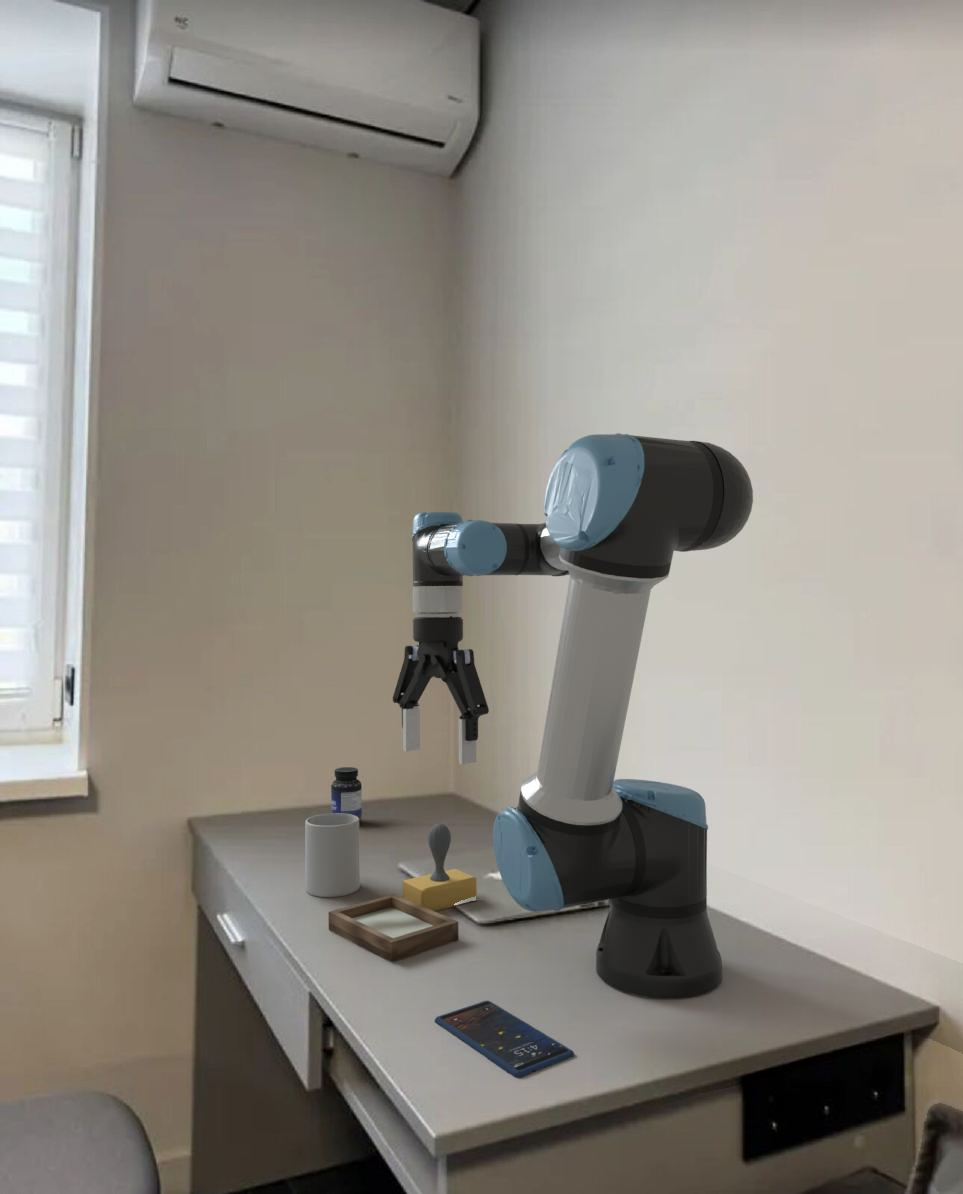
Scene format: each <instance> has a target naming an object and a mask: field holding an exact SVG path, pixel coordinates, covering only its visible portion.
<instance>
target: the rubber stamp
mask: <svg viewBox="0 0 963 1194" xmlns="http://www.w3.org/2000/svg"><path fill="white" fill-rule="evenodd" d="M451 841H452V833H451V831H450V828H449V827H447V826H446V825H445V824H443V823H435V824H434V825H433V826H432V827H430V829H429V830H428V833H427V843H428V846H429V849H430V852H431V855H432V857H433V860H434V866H435V870H434V872H433V873H430V874H425V875H422V876H417V877H412V878H408V879H404V880H403V881H402V898H404V899H406V900H408V901H411V902H413V903H415V904H418V905H420V906H423V907H425V908H427V909H430V910H432V911H434V912H438V911H441V910H444V909H450V908H453V907H455V906H454V904H455V903H457V902H459V901H461V900H465V899H468V898H471V897H475V896H476V895H477V894H478V892H477V890H478V889H477V888H478V887H477V877H476V876H472V875H471V874H468V873H465V872H463V871H461V870H460V869H457V868H453V869H448V870H445V869H444V867H445V861H446V857H447V855H448V852H449V849H450V845H451Z"/></svg>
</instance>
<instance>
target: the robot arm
mask: <svg viewBox="0 0 963 1194" xmlns="http://www.w3.org/2000/svg"><path fill="white" fill-rule="evenodd" d="M547 481H548V482H547V484H546V489H545V495H544V503H543V504H544V505H543V510H544V512H543V513H544V516H546V517H547V519H546V520H545V522H543V523H510V522H509V523H506V522H491V521H488V520H481V519H477V520H474V519H467V520H465V521H463V518H462V516H461V514H459V513H458V512H453V511H452V512H451V511H429V512H418V513H417V514H416V515H414V518H413V522H412V534H411V541H412V612H413V613H414V614H416V616H415V617H413V620H412V638H413V640H414V641H415V642H417V643H418V644H416V645H415V644H414V645H405V646H404V654H403V655H404V656H403V657H404V658H403V661H402V662H403V663H402V664H401V665H402V666H401V669H400V671H399V672H400V673H399V674H398V675H399V676H398V678H397V681H396V684H395V685H396V686H395V688H394V691H393V695H392V702H393V703H394V704H398V705H399V707H400V708H401V726H402V751H403V752H411V751H418V750H421V739H420V738H421V735H420V733H421V726H420V725H421V716H420V715H421V713H420V712H421V708H420V704H419V701H420V698H421V697H422V696H423V693H424V691H425V690H426V688H427V686H428V684H429V683H430V681H431V679H432V678H436V679H441V681H442V682H444V683H445V684H446V686H447V688H448V690H449V691H450V694H451V696H452V698H453V700H454V703H455V704H456V705H457V708H458V710H459V712H460V716H459V718H458V764H460V765H465V764H467V765H468V764H472V763H476V762H477V740H478V739H479V718H480V717H481V716H484V715H488V714H489V712H490V710H489V706H488V703H487V702H488V701H487V699H486V696H485V693H484V690H483V687H482V684H481V683H482V682H481V680H480V677H479V675H478V672H477V668H476V665H475V654H474V650H473V649H472V648H467V649H460V648H459V642H462V640H463V639H464V619H463V618H462V617H461V616H459V614H462V612H464V610H463V608H464V607H463V606H464V605H463V602H464V601H463V597H464V596H463V586H464V585H463V584H464V582H463V581H464V580H463V579H464V577H463V576H465V577H466V576H467V577H473V576H477V577H480V576H481V577H482V576H551V577H564V576H569V581H568V585H567V586H568V587H567V593H566V600H565V605H564V610H563V618H562V623H561V629H560V635H559V641H558V645H557V646H558V647H557V651H556V652H557V653H556V659H555V664H554V668H553V669H554V670H553V676H552V682H551V688H550V695H549V701H548V706H547V712H546V719H545V724H544V728H543V734H542V735H543V737H542V741H541V742H542V743H541V746H540V747H541V749H540V755H539V759H538V767H537V771H536V772H534V773H533V774H531V775H529V776H527V778H525V779H524V781H523V782H522V783H521V785H520V786H521V787H520V791H519V798H518V799H519V800H518V803H517V807H512V806H508V807H507V808H506V809H503V810H501V812H499V813H498V814H497V815H496V817H495V820H494V823H493V830H492V841H493V842H492V843H493V844H492V845H493V851H494V852H493V853H494V857H495V862H496V865H497V869H498V871H499V874H500V875H499V876H500V877H501V879H502V882H503V884H504V886H505V888H506V891H508V892H507V893H508V895H510V897H511V898H512V899H513V901H515V903H516V904H517V905H518V906H519V907H521V908H522V909H523V910H526V911H529V912H534V913H535V912H545V911H555V912H559V911H561V910H562V909H564V908H570V907H575V906H581V905H585V904H586V905H587V904H592V903H597V902H601V901H607V900H608V901H609V900H610V902H609V910H608V913H607V917H606V920H605V923H604V925H603V928H602V932H601V935H600V939H599V943H598V945H597V947H596V953H595V961H596V962H595V969H596V973H597V975H598V977H599V978H600V979H601V980H602V981H603V982H604V983H605V984H607V985H609V986H610V987H612V988H614V989H617V990H619V991H622V992H624V993H627V994H631V995H635V996H638V997H639V996H640V997H645V998H650V999H664V1000H665V999H667V1000H669V999H670V1000H673V999H674V1000H675V999H686V998H693V997H694V998H695V997H698V996H702V995H704V994H705V995H706V994H708V993H710V992H712V991H714V990H716V989H717V988H718V987H719V986H720V985H721V983H722V981H723V960H722V959H723V958H722V955H721V953H720V951H719V950H718V946H717V941H716V938H715V935H714V932H713V928H712V925H711V922H710V918H709V914H708V908H707V907H708V906H707V905H708V903H707V902H708V899H707V897H708V896H707V895H708V894H707V893H708V892H707V890H708V889H707V883H708V882H707V880H708V879H707V878H708V875H707V871H708V870H707V865H708V861H707V859H708V857H707V855H708V853H707V851H708V830H709V825H708V823H707V810H706V802H705V799H704V797H702V795H701V794H700V793H699V792H698V791H696V790H693V789H691V788H688V787H685V786H681V785H677V784H672V783H667V782H663V781H662V782H661V781H655V780H648V779H647V780H645V779H634V778H618V779H615V775H616V771H617V765H618V761H619V755H620V750H621V745H622V740H623V736H624V735H623V734H624V730H625V725H626V718H627V714H628V709H629V703H630V700H631V694H632V688H633V683H634V678H635V673H636V670H637V669H636V668H637V664H638V659H639V658H638V657H639V652H640V647H641V642H642V637H643V632H644V626H645V623H646V622H645V621H646V618H647V617H646V616H647V611H648V607H649V606H648V605H649V601H650V596H651V590H652V589H653V588H654V587H655V586H656V585H658V584H660V583H661V582H662V581H664V580H666V579H668V577H669V575H670V571H671V570H670V569H671V566H672V560H673V558H674V557H673V556H674V552H680V553H685V552H692V551H693V552H696V551H705V550H710V549H715V548H717V547H720V546H722V545H725V544H727V543H729V542H730V541H732V540H733V539H734V538H735V537H737V536H738V535H739V534H740V532H741V531H743V530H744V527H745V526H746V524H747V522H748V520H749V518H750V515H751V513H752V509H753V503H754V490H753V486H752V481H751V478H750V476H749V473H748V471H747V470H746V468H745V466H744V465H743V464H742V462H741V461H740V460H739V459H738V458H737V457H736V456H735V455H733V454H732V453H731V452H730V451H728V450H727V449H725V448H723V447H721V446H719V445H716V444H713V443H711V442H705V441H701V440H700V441H699V440H683V439H682V440H681V439H673V438H671V439H669V438H662V437H651V436H642V435H641V436H640V435H632V434H628V433H625V434H623V433H620V432H617V433H614V434H613V433H612V434H611V433H610V434H608V433H607V434H589V435H586V436H582V437H580V438H578V439H577V440H575V441H573V442H572V443H571V444H570V446H569V447H568V449H566V450H564V451H563V452H562V453H561V455H560V456H559V458H558V459H557V460H556V462H555V464H554V466H553V468H552V470H551V473H550V475H549V478H548V480H547Z"/></svg>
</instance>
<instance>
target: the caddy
mask: <svg viewBox="0 0 963 1194" xmlns="http://www.w3.org/2000/svg"><path fill="white" fill-rule="evenodd" d="M328 931H331V932H332V933H334V934H337V935H339V936H340V937H342V938H344V939H346V940H348V941H349V942H352V943H353V944H355V945H356V946H360V947H362V948H363V949H365V950H368V951H369V952H371V953H373V954H374V955H377V956H379V957H380V958H382V959H384V960H386V961H388V962H391V963H394V962H396V961H399V960H402V959H405V958H408V957H412V956H414V955H417V954H420V953H423V952H427V951H429V950H433V949H435V948H440V947H442V946H445V945H448V944H452V943H454V942H457V941H459V935H460V934H459V921H458V920H455V919H454V918H452V917H451V918H450V917H448V916H446V915H444V914H441V913H439V912H438V911H432V910H430V909H427V908H425V907H423V906H420V905H418V904H415V903H413V902H411V901H408V900H406V899H404V898H403V897H400V896H399V895H396V894H394V893H393V894H389V895H386V896H382V897H379V898H373V899H369V900H367V901H363V902H360V903H356V904H352V905H351V904H350V905H348V906H345V907H344V906H343V907H341V908H336V909H333V910H330V911H328Z"/></svg>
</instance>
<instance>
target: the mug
mask: <svg viewBox="0 0 963 1194" xmlns="http://www.w3.org/2000/svg"><path fill="white" fill-rule="evenodd" d="M304 826H305V827H304V839H305V840H304V842H305V845H304V847H305V850H304V851H305V852H304V853H305V854H304V855H305V859H304V860H305V864H304V865H305V869H304V870H305V874H304V875H305V878H304V881H305V882H304V883H305V884H304V885H305V891H306V893H307V894H309V895H311V896H314V897H320V898H338V897H344V896H348V895H351V894H354V893H355V892H357V891H359V889H360V885H361V875H360V873H361V872H360V824H359V818H358V817H357V816H355V815H351V814H343V813H322V814H318V815H317V814H316V815H312V816H310V817H308V818H307V819H305V822H304Z"/></svg>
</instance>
